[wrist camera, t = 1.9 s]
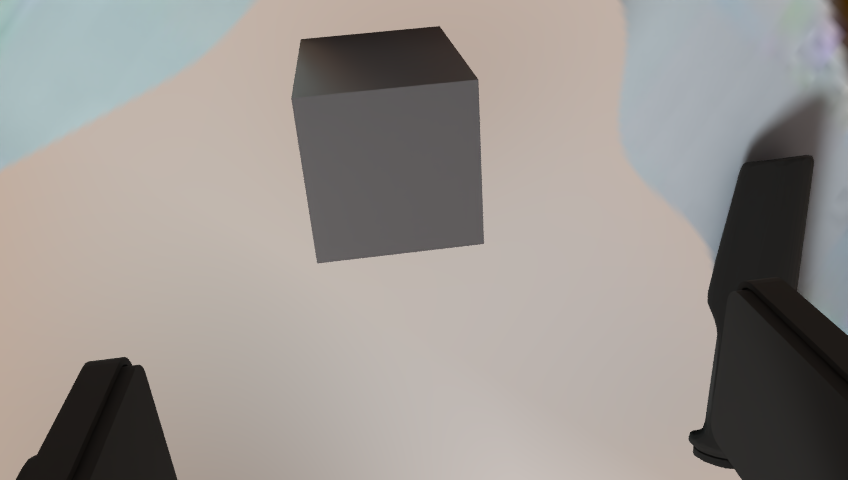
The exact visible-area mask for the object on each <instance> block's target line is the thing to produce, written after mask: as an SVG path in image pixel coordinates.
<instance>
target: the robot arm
mask: <svg viewBox="0 0 848 480" xmlns="http://www.w3.org/2000/svg"><path fill="white" fill-rule="evenodd" d="M711 428H712V433H713V436H714V439H715V441H716V443H717V444H718V446H719V447H720V449H721V450H722V452H723V453H724V455H725V456H726V457H727V459H728V460H729V462H730V463H731V465H732V466H733V468H734V469H735V470H736V472H737V473H738V475H739V476H740V478H741V479H742V480H848V335H846V334H845V333H844V332H843V331H842V330H841V329H840V328H838V327H837V326H836V325H835V324H834V323H833V322H831V321H830V320H829V319H828V318H827V317H826V316H825V315H823V314H822V313H821V312H820V311H819V310H818V309H817V308H815V307H814V306H813V305H812V304H811V303H810V302H808V301H807V300H806V299H805V298H804V297H803V296H802V295H800V294H799V293H798V292H797V291H796V290H795V289H793V288H792V287H791V286H790V285H789V284H788V283H787V282H785V281H784V280H783V279H781V278H779V277H773V278H765V279H757V280H748V281H743V282H741V283H740V284H739V286H738V287H737V291H733V292H731V293H730V294H729V296H728V299H727V306H726V313H725V320H724V328H723V335H722V343H721V350H720V357H719V365H718V372H717V380H716V387H715V395H714V402H713V409H712V417H711ZM16 480H177V477H176V474H175V470H174V467H173V464H172V461H171V457H170V454H169V450H168V447H167V444H166V440H165V437H164V433H163V430H162V427H161V423H160V420H159V417H158V413H157V410H156V407H155V403H154V400H153V397H152V394H151V390H150V387H149V383H148V380H147V377H146V373H145V371H144V368H143V367H142V366H141V365H134V366H132V364H131V362H130V361H129V359H128V358H126V357H122V358H114V359H106V360H98V361H89V362H87V363H85V365H84V366H83V368H82V369H81V371H80V373H79V375H78V377H77V379H76V381H75V383H74V385H73V387H72V389H71V390H70V393H69V394H68V396H67V398H66V400H65V402H64V404H63V406H62V408H61V410H60V412H59V413H58V415H57V417H56V419H55V421H54V423H53V425H52V427H51V429H50V431H49V433H48V435H47V437H46V439H45V441H44V442H43V444H42V446H41V448H40V450H39V452H38V454H37V455H35V456H33V457H31V458H30V459H28V461H27V462H26V463H25V465H24V466H23V467H22V469H21V471H20V473H19V475H18V477H17V478H16Z"/></svg>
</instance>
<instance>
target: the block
mask: <svg viewBox="0 0 848 480" xmlns="http://www.w3.org/2000/svg"><path fill="white" fill-rule="evenodd" d="M292 105H293V111H294V118H295V124H296V130H297V137H298V143H299V150H300V155H301V162H302V169H303V174H304V182H305V188H306V194H307V200H308V207H309V214H310V220H311V226H312V232H313V239H314V245H315V252H316V258H317V263H324V262H333V261H341V260H350V259H358V258H367V257H375V256H383V255H392V254H401V253H409V252H417V251H426V250H434V249H443V248H452V247H460V246H469V245H478V244H484V235H483V205H482V175H481V146H480V121H479V120H480V117H479V88H478V79H477V77H476V76H475V75H474V73H473V72H472V70H471V69H470V68H469V66H468V65H467V64H466V62H465V61H464V59H463V58H462V57H461V55H460V54H459V53H458V51H457V50H456V48H455V47H454V46H453V44H452V43H451V42H450V40H449V39H448V37H447V36H446V35H445V33H444V32H443V31H442V29H441V28H440V27H439V26H438V27H427V28H416V29H405V30H394V31H384V32H373V33H363V34H352V35H341V36H331V37H320V38H309V39H301V42H300V48H299V55H298V60H297V67H296V74H295V79H294V85H293V92H292Z"/></svg>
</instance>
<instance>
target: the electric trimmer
mask: <svg viewBox="0 0 848 480" xmlns="http://www.w3.org/2000/svg"><path fill="white" fill-rule="evenodd" d="M813 166H814V160H813V157H812V156H809V155H803V156H796V157H789V158H782V159H774V160H766V161H757V162H748V163H745V164H744V165H743V166H742V168H741V170H740V173H739V177H738V180H737V184H736V188H735V191H734V195H733V199H732V202H731V206H730V210H729V213H728V217H727V221H726V224H725V228H724V232H723V235H722V239H721V243H720V246H719V250H718V254H717V257H716V261H715V265H714V269H713V274H712V278H711V282H710V286H709V290H708V304H709V307H710V309H711V312H712V314H713V317H714V319H715V323H716V327H717V341H716V348H715V355H714V362H713V370H712V376H711V384H710V390H709V397H708V405H707V412H706V419H705V423H704V426H703V428H702V429H699V430H693V431H692V432H690V435H689V441H690V443H691V444H693V445H694V447H693V453H694V455H695V456H696V457H698V458H700V459H701V460H703V461H705V462H707V463H710V464H713V465H715V466H719V467H724V468H729V469H734V468H733V466H732V465H731V463H730V462H729V460H728V459H727V457H726V456H725V455H724V453H723V452H722V450H721V449H720V447H719V446H718V444H717V443H716V441H715V439H714V436H713V433H712V428H711V417H712V409H713V402H714V395H715V387H716V380H717V372H718V365H719V357H720V350H721V343H722V335H723V328H724V320H725V313H726V306H727V299H728V296H729V294H730V293H731V292H733V291H737V287H738V286H739V284H740V283H741V282H743V281H748V280H757V279H765V278H773V277H779V278H781V279H783V280H784V281H785V282H787V283H788V284H789V285H790V286H791V287H792V288H793V289H795V290H796V291H797V285H798V277H799V270H800V262H801V255H802V247H803V240H804V233H805V225H806V218H807V210H808V203H809V196H810V188H811V181H812V173H813Z"/></svg>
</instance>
